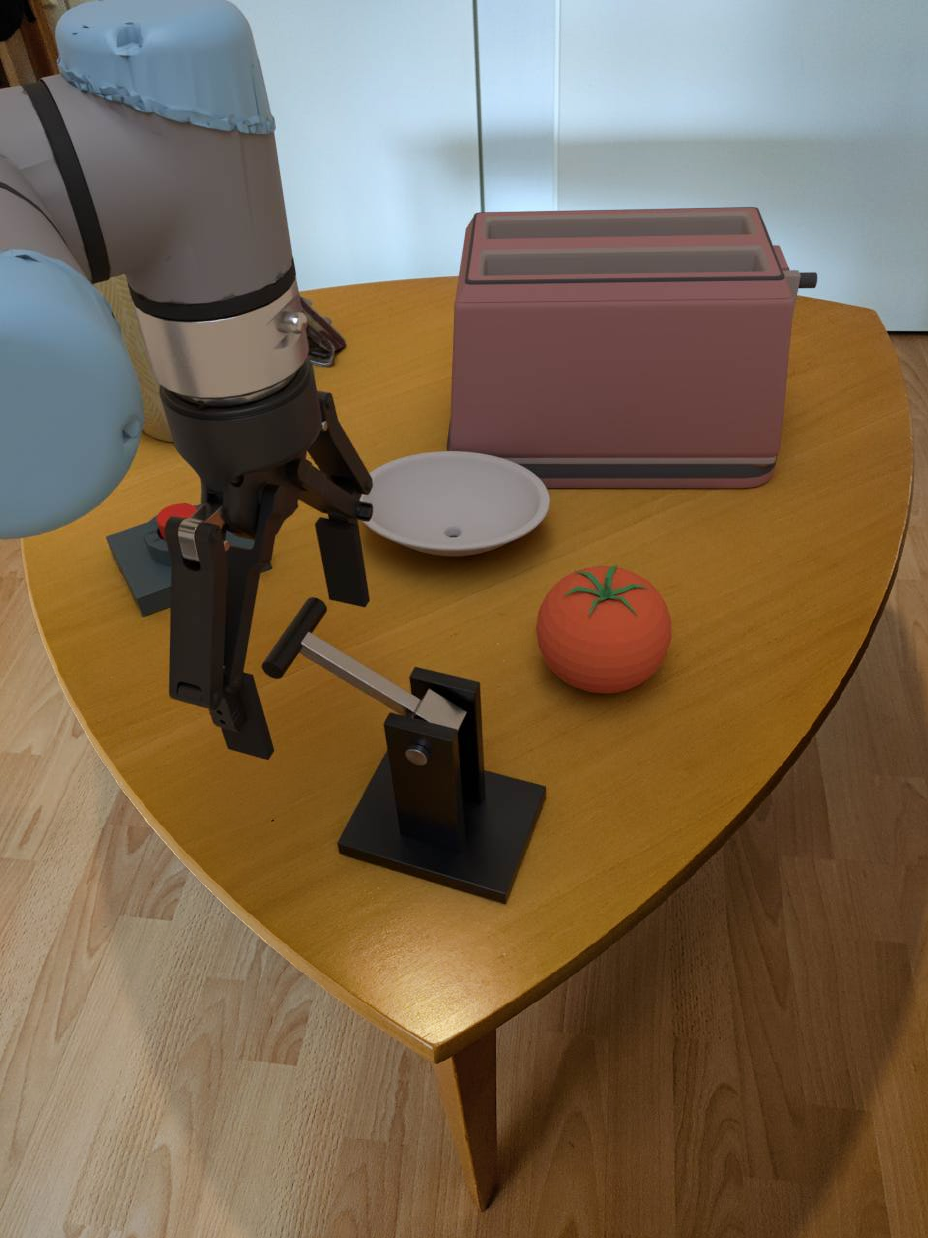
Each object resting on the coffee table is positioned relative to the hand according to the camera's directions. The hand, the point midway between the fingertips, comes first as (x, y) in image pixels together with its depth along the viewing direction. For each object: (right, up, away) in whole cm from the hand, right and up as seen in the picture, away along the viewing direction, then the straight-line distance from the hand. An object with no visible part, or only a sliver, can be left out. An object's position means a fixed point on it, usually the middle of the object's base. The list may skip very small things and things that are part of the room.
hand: (304, 670), depth 63 cm
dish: (+9, +10, +29) cm, 32 cm away
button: (-15, +11, +26) cm, 32 cm away
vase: (-19, +26, +48) cm, 58 cm away
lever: (+4, -1, -1) cm, 4 cm away
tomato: (+21, -1, +16) cm, 27 cm away
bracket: (+9, -11, +6) cm, 15 cm away
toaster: (+26, +22, +40) cm, 53 cm away
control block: (-15, +8, +28) cm, 33 cm away
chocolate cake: (-9, +36, +58) cm, 69 cm away
